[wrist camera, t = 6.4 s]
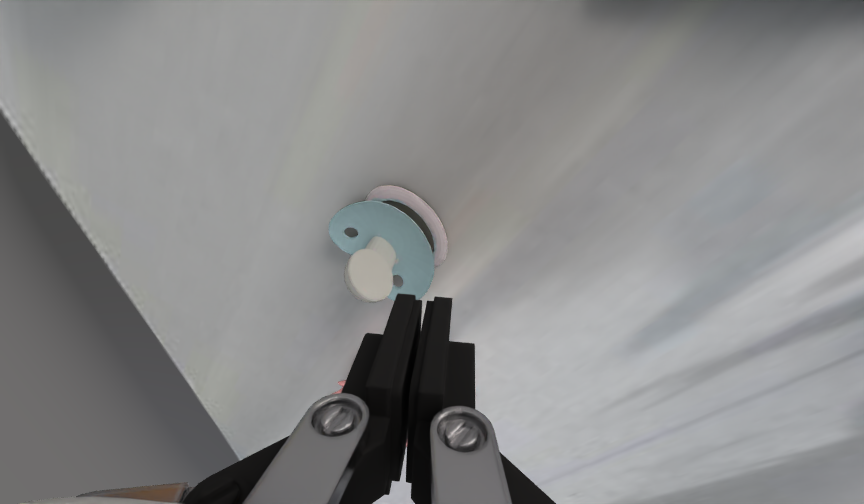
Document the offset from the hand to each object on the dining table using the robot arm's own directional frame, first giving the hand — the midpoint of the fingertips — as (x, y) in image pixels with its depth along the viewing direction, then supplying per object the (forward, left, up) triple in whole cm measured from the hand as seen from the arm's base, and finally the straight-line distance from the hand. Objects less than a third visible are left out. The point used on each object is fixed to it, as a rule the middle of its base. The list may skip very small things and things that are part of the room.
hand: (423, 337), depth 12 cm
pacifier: (+3, +2, -14) cm, 15 cm away
